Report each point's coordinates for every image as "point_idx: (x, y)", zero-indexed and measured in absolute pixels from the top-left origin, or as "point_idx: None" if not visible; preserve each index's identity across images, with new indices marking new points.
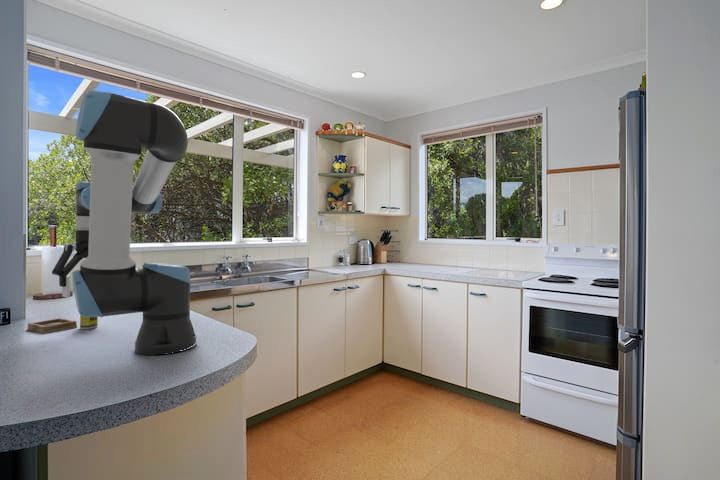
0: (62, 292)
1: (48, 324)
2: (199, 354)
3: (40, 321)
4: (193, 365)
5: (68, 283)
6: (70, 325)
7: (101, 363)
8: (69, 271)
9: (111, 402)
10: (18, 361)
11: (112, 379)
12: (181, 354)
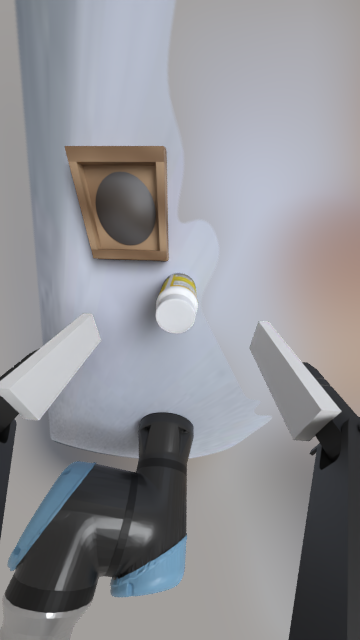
0: (73, 323)
1: (120, 189)
2: None
3: (100, 149)
4: None
5: (61, 382)
6: (152, 260)
7: (110, 418)
8: (5, 457)
9: (91, 450)
10: None
11: (103, 437)
12: None
